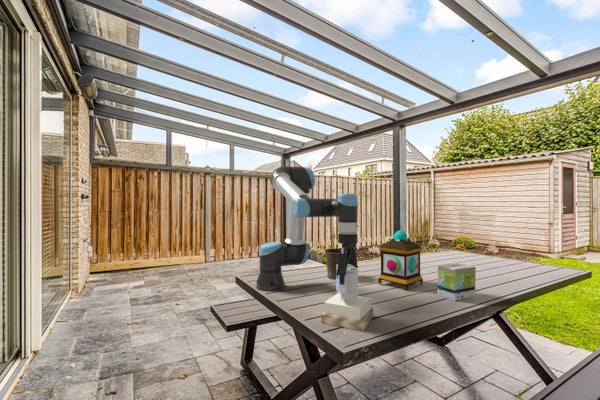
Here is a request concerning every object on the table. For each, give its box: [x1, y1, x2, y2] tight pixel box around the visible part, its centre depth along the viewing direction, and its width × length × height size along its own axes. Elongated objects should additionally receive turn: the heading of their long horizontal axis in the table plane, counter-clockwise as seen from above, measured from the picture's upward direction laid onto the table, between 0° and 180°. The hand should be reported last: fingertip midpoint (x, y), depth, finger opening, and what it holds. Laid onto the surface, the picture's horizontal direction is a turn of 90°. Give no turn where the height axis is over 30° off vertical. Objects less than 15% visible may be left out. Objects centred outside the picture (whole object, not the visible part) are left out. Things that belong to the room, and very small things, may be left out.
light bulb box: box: [335, 264, 359, 299], centre depth 117 cm, size 11×7×11 cm, turn 4°
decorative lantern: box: [377, 230, 424, 292], centre depth 165 cm, size 20×20×30 cm
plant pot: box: [324, 248, 349, 281], centre depth 181 cm, size 16×16×16 cm
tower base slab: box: [320, 306, 374, 332], centre depth 117 cm, size 16×16×4 cm
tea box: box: [436, 263, 477, 302], centre depth 145 cm, size 15×10×15 cm, turn 117°
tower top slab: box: [323, 292, 372, 320], centre depth 117 cm, size 14×14×4 cm
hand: (347, 288), depth 117 cm, fingers closed on light bulb box, 12 cm apart
